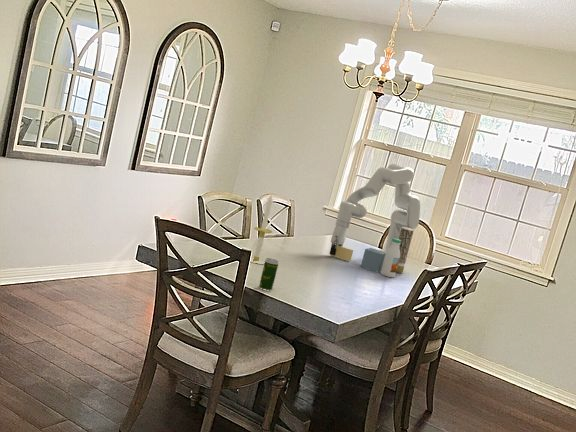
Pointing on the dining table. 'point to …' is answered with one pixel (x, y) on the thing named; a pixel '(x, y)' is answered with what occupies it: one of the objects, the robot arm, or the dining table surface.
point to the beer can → (268, 274)
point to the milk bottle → (391, 259)
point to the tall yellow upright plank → (343, 253)
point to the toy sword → (262, 230)
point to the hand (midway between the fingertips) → (335, 254)
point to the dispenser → (373, 259)
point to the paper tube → (404, 247)
